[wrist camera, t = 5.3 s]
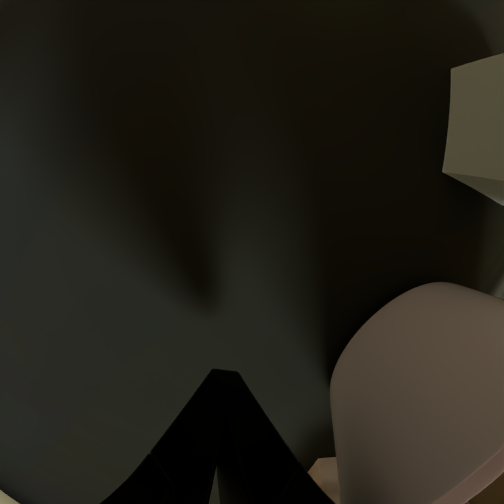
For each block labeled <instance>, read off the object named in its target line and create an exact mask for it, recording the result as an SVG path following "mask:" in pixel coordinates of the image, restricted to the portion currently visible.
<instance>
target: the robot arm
mask: <svg viewBox="0 0 504 504" xmlns="http://www.w3.org/2000/svg"><path fill="white" fill-rule="evenodd" d="M150 453H151V454H148V455H147V456H146V458H145V459H144V460H143V461H142V463H141V464H140V465H139V466H138V467H137V469H136V470H135V471H134V472H133V473H132V474H131V475H130V477H129V478H128V479H127V480H126V481H125V482H124V483H123V484H122V485H121V486H119V487H118V488H117V489H116V490H115V491H114V492H113V493H112V494H111V495H110V496H108V497H107V498H106V499H105V500H104V501H102V502H101V503H100V504H208V503H209V498H210V494H211V489H212V484H213V479H214V475H215V470H216V468H217V479H218V488H219V498H220V504H336V503H335V502H334V501H333V500H332V499H331V498H330V497H329V496H328V495H327V494H326V493H325V492H324V491H323V490H322V489H321V488H320V487H319V486H318V484H317V483H316V482H315V481H314V480H313V478H312V477H311V476H310V475H309V473H308V472H307V471H306V469H305V468H304V467H303V466H301V463H300V462H299V460H298V459H297V458H296V456H295V455H294V454H293V452H292V451H291V450H290V448H289V447H288V445H287V444H286V443H285V441H284V440H283V438H282V437H281V436H280V434H279V433H278V431H277V430H276V429H275V427H274V426H273V424H272V423H271V421H270V420H269V418H268V417H267V415H266V414H265V412H264V411H263V409H262V408H261V406H260V405H259V403H258V402H257V400H256V399H255V397H254V396H253V394H252V393H251V391H250V390H249V388H248V387H247V385H246V383H245V382H244V380H243V379H242V377H241V375H240V374H239V373H238V372H237V371H229V370H221V369H212V370H211V371H210V372H209V374H208V375H207V377H206V378H205V379H204V381H203V382H202V384H201V385H200V386H199V388H198V389H197V390H196V392H195V393H194V394H193V396H192V397H191V399H190V400H189V401H188V403H187V404H186V405H185V407H184V408H183V409H182V411H181V412H180V413H179V415H178V416H177V417H176V419H175V420H174V421H173V423H172V424H171V425H170V427H169V428H168V429H167V431H166V432H165V433H164V435H163V436H162V437H161V439H160V440H159V441H158V442H157V444H156V445H155V446H154V448H153V449H152V450H151V452H150ZM300 466H301V467H300Z"/></svg>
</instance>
